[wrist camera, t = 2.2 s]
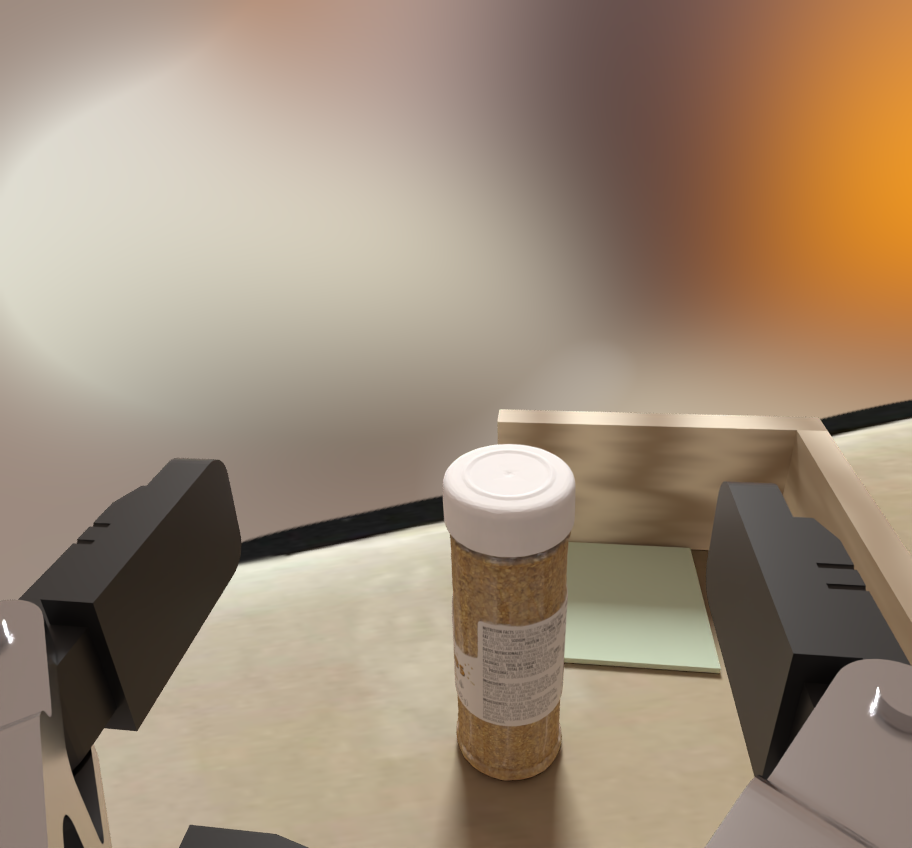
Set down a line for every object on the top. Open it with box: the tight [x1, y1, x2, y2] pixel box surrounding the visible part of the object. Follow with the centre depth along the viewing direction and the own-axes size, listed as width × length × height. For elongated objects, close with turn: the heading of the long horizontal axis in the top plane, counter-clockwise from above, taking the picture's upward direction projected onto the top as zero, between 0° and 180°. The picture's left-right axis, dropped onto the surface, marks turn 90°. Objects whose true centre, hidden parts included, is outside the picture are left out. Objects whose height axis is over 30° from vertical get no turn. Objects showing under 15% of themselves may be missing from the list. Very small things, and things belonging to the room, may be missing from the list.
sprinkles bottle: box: [443, 444, 575, 780], centre depth 28 cm, size 5×5×13 cm
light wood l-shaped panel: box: [498, 409, 912, 666], centre depth 34 cm, size 17×18×8 cm
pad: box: [564, 542, 721, 673], centre depth 38 cm, size 9×9×1 cm
